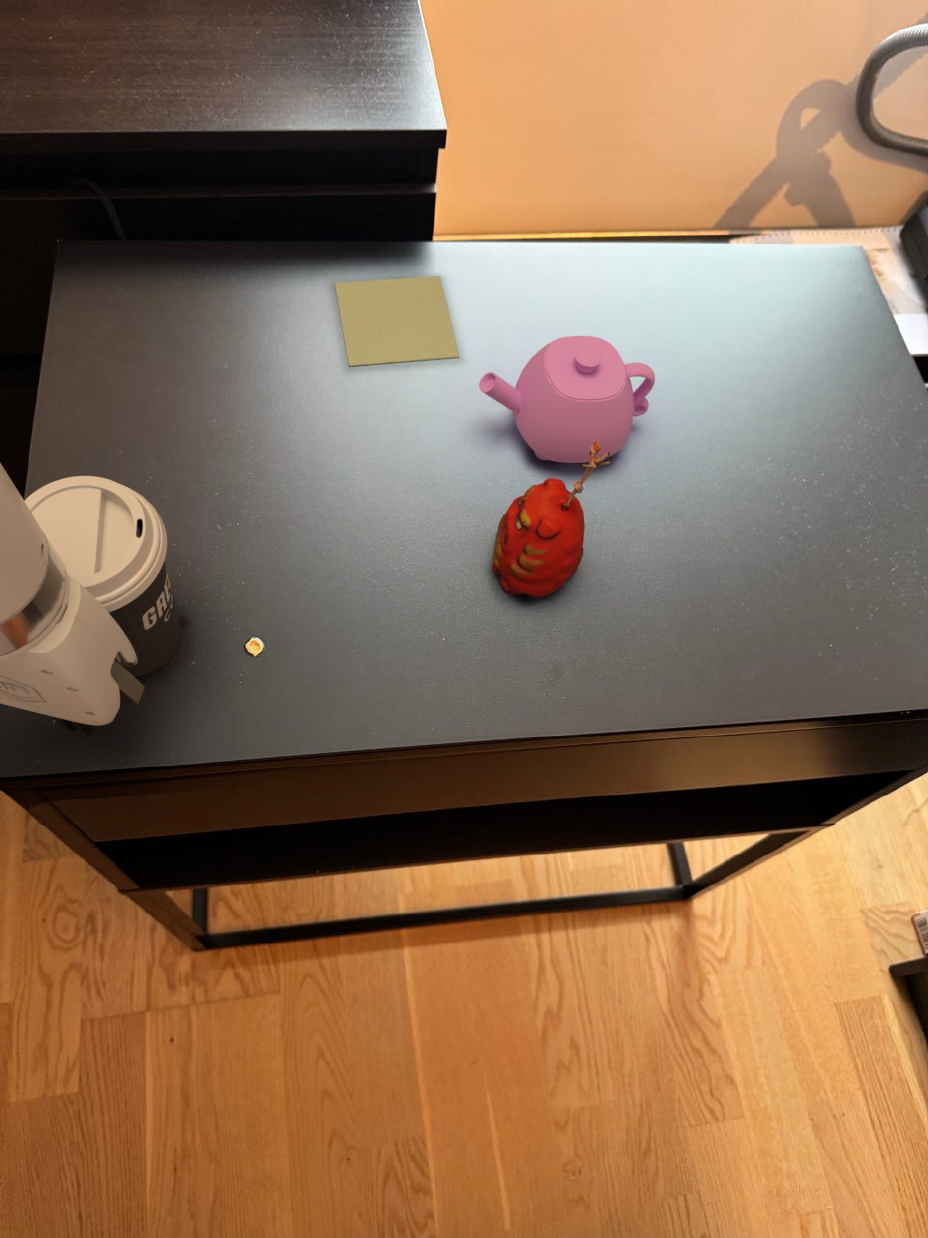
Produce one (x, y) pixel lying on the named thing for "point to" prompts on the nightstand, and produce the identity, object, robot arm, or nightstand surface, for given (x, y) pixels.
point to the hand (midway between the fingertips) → (87, 711)
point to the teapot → (574, 398)
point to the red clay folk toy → (542, 536)
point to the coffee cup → (114, 558)
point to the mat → (395, 321)
